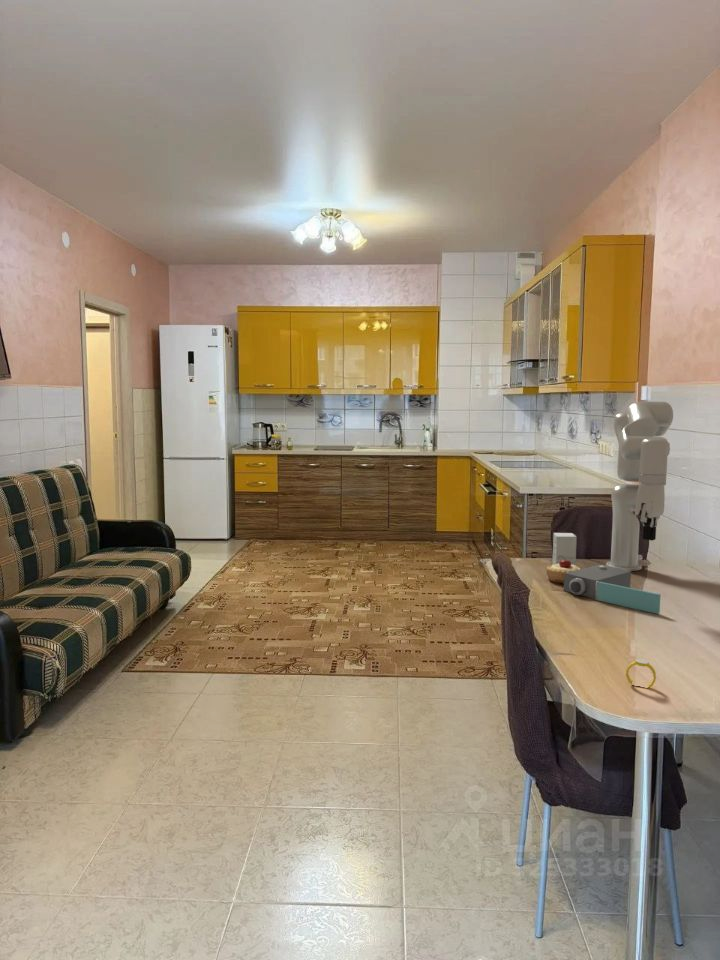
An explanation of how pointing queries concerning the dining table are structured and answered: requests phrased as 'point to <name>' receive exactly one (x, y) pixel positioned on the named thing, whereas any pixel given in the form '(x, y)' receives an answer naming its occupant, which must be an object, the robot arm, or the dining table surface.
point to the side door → (628, 597)
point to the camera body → (594, 579)
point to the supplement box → (564, 547)
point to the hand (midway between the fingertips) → (649, 539)
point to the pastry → (560, 570)
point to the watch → (641, 663)
